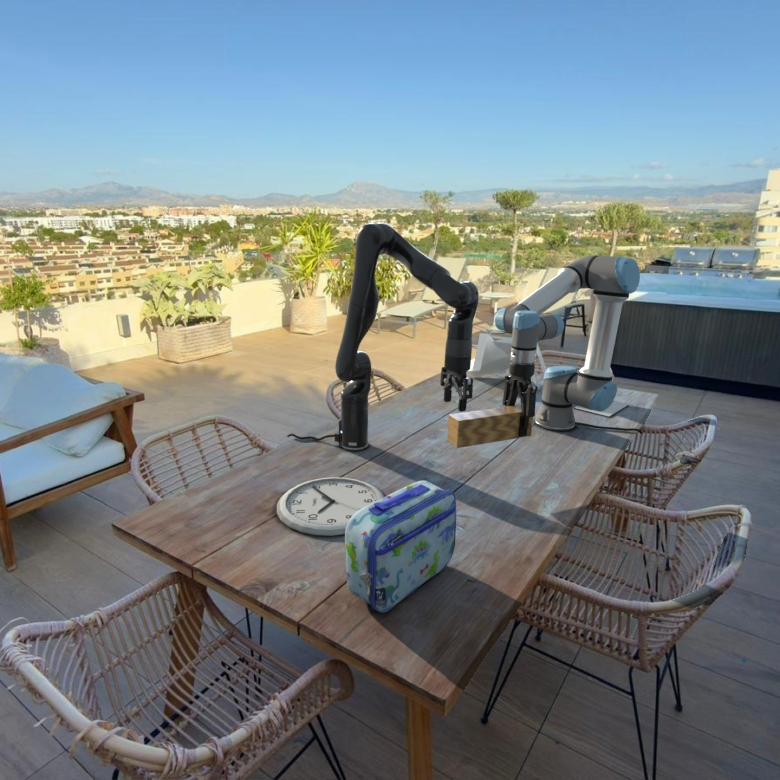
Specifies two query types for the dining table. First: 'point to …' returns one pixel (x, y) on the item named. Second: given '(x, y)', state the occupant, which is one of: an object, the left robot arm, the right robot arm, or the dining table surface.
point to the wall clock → (325, 504)
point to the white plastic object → (496, 357)
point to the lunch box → (399, 543)
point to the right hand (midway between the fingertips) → (516, 431)
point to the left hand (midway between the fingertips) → (454, 406)
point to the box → (485, 426)
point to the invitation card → (609, 411)
